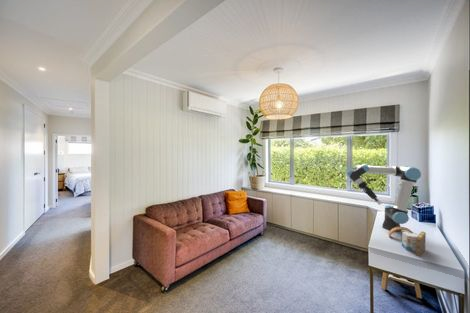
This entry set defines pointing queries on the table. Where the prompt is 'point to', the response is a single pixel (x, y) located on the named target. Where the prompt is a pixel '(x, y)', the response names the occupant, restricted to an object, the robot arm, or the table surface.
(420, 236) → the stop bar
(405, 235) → the ink box
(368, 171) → the robot arm
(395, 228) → the arch
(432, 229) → the table surface
